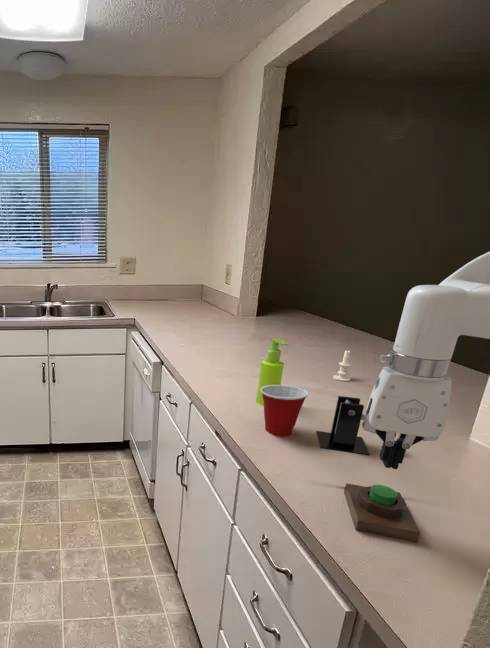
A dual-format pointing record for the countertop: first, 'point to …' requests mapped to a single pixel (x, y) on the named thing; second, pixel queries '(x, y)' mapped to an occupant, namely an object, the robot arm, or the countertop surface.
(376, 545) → the countertop surface
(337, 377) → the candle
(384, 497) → the light button
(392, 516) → the button block
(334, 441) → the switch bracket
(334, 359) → the countertop surface
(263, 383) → the soap dispenser
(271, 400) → the plastic cup
